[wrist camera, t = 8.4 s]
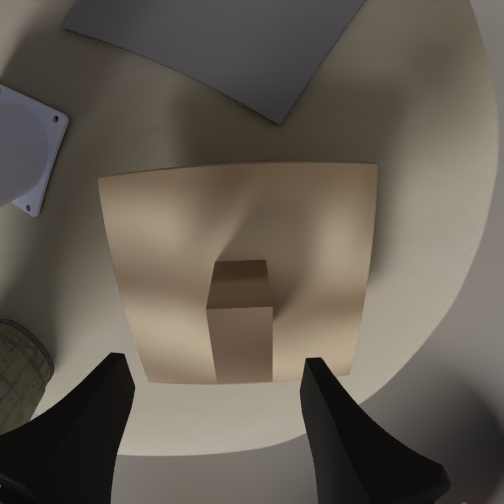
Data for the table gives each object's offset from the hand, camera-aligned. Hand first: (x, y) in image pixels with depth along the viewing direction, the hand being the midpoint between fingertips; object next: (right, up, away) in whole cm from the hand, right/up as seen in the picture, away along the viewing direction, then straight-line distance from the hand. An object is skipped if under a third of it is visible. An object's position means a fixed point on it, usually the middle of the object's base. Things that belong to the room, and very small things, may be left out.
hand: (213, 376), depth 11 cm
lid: (+1, +3, +5) cm, 5 cm away
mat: (0, +23, +1) cm, 23 cm away
